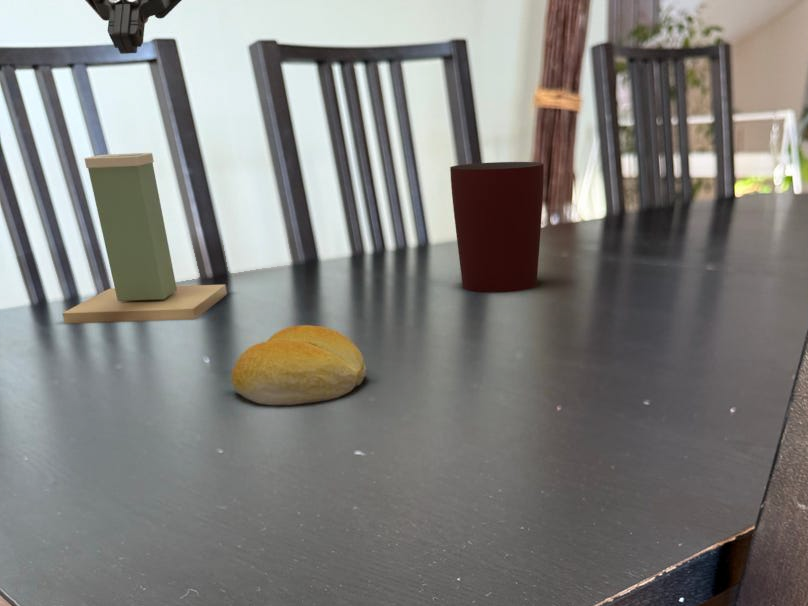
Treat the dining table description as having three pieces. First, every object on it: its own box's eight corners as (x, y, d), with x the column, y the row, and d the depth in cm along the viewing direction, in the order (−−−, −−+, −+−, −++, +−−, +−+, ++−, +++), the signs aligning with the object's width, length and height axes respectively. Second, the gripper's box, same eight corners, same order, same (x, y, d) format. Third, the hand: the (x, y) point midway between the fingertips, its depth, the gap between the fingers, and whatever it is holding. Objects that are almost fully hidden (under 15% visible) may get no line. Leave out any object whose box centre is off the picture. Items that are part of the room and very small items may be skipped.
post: (115, 301, 88) (83, 158, 82) (132, 292, 92) (102, 154, 86) (164, 299, 88) (135, 156, 82) (178, 290, 92) (152, 152, 86)
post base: (65, 326, 86) (61, 312, 85) (111, 300, 96) (108, 288, 95) (195, 322, 85) (193, 308, 85) (227, 296, 96) (225, 284, 95)
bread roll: (214, 407, 62) (203, 344, 60) (282, 371, 69) (274, 315, 67) (327, 414, 59) (319, 350, 57) (385, 377, 66) (380, 318, 64)
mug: (469, 275, 102) (465, 160, 96) (551, 274, 100) (551, 158, 94) (447, 296, 91) (441, 170, 86) (538, 296, 90) (538, 167, 84)
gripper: (54, -133, 89) (35, 13, 85) (192, -140, 89) (180, 7, 84) (89, -57, 96) (73, 81, 92) (216, -62, 96) (206, 76, 92)
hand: (124, 45), depth 88 cm, fingers closed
